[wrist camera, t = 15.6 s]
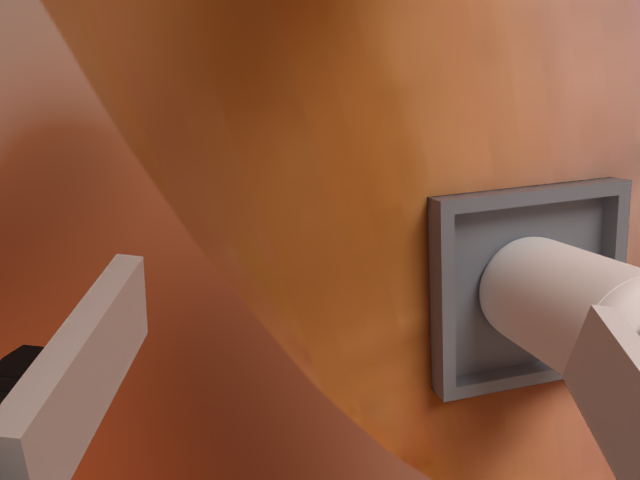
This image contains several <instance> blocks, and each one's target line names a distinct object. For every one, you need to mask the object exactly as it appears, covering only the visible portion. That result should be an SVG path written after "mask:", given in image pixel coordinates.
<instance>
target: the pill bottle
mask: <svg viewBox="0 0 640 480" xmlns="http://www.w3.org/2000/svg"><path fill="white" fill-rule="evenodd" d="M479 298H480V304H481V308H482V311H483V313H484V315H485V317H486V319H487V320H488V322H489V323H490V324H491V325H492V326H493V327H494V328H495V329H496V330H497V331H498V332H499V333H501V334H502V335H504V336H505V337H507V338H508V339H509V340H511V341H512V342H514V343H515V344H517V345H518V346H520V347H521V348H523V349H524V350H526V351H527V352H529V353H530V354H532V355H533V356H535V357H536V358H538V359H539V360H541V361H542V362H544V363H545V364H546V365H548V366H549V367H551V368H552V369H554V370H555V371H557V372H558V373H560V374H561V375H562V374H563V372H564V370H565V367H566V365H567V362H568V360H569V357H570V355H571V352H572V350H573V348H574V345H575V343H576V340H577V338H578V335H579V333H580V331H581V328H582V326H583V323H584V321H585V318H586V316H587V314H588V311H589V309H590V306H591V305H599V306H608V307H617V308H618V309H619V311H620V312H621V313H622V314H623V316H624V317H625V318H626V319H627V321H628V322H629V323H630V324H631V326H632V327H633V328H634V329H635V331H636V332H637V333H638V335H639V336H640V268H639V267H636V266H633V265H630V264H627V263H623V262H620V261H617V260H614V259H611V258H608V257H605V256H602V255H599V254H596V253H592V252H589V251H586V250H583V249H580V248H577V247H574V246H571V245H568V244H564V243H561V242H558V241H555V240H552V239H548V238H543V237H525V238H521V239H517V240H515V241H513V242H511V243H509V244H507V245H505V246H504V247H503V248H501V249H500V250H499V251H498V252H497V253H496V254H495V255H494V256H493V257H492V259H491V260H490V261H489V263H488V265H487V266H486V268H485V270H484V273H483V275H482V278H481V282H480V289H479Z"/></svg>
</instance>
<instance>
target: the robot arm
mask: <svg viewBox="0 0 640 480" xmlns="http://www.w3.org/2000/svg"><path fill="white" fill-rule="evenodd" d="M147 333H148V328H147V311H146V295H145V277H144V260H143V256H133V255H124V254H116V256H115V257H114V258H113V259H112V261H111V262H110V263H109V265H108V266H107V267H106V268H105V270H104V271H103V272H102V274H101V275H100V276H99V278H98V279H97V280H96V281H95V283H94V284H93V285H92V286H91V288H90V289H89V290H88V292H87V293H86V294H85V295H84V297H83V298H82V299H81V301H80V302H79V303H78V305H77V306H76V307H75V309H74V310H73V311H72V312H71V314H70V315H69V316H68V318H67V319H66V320H65V321H64V323H63V324H62V325H61V327H60V328H59V329H58V331H57V332H56V333H55V334H54V336H53V337H52V338H51V340H50V341H49V342H48V344H47V345H46V346H45V347H39V346H30V345H22V346H21V347H19V348H18V349H16V350H14V351H13V352H11V353H10V354H8V355H7V356H5V357H3V358H2V359H1V360H0V480H71V478H72V476H73V475H74V473H75V471H76V469H77V467H78V465H79V463H80V461H81V459H82V457H83V456H84V454H85V452H86V450H87V448H88V445H89V444H90V442H91V440H92V438H93V436H94V434H95V433H96V431H97V429H98V427H99V425H100V423H101V421H102V419H103V417H104V415H105V414H106V412H107V410H108V408H109V406H110V404H111V402H112V400H113V398H114V396H115V394H116V392H117V391H118V389H119V387H120V385H121V383H122V381H123V379H124V377H125V375H126V373H127V371H128V370H129V368H130V366H131V364H132V362H133V360H134V358H135V356H136V354H137V352H138V350H139V349H140V347H141V345H142V343H143V341H144V339H145V337H146V335H147ZM562 378H563V380H564V382H565V384H566V385H567V387H568V389H569V391H570V393H571V395H572V397H573V399H574V401H575V402H576V404H577V406H578V408H579V410H580V412H581V414H582V416H583V417H584V419H585V421H586V423H587V425H588V427H589V429H590V431H591V433H592V434H593V436H594V438H595V440H596V442H597V444H598V446H599V448H600V449H601V451H602V453H603V455H604V457H605V459H606V461H607V463H608V465H609V466H610V468H611V470H612V472H613V474H614V476H615V478H616V480H640V336H639V335H638V333H637V332H636V331H635V329H634V328H633V327H632V326H631V324H630V323H629V322H628V321H627V319H626V318H625V317H624V316H623V314H622V313H621V312H620V311H619V309H618V308H617V307H608V306H599V305H591V306H590V309H589V311H588V314H587V316H586V318H585V321H584V323H583V326H582V328H581V331H580V333H579V335H578V338H577V340H576V343H575V345H574V348H573V350H572V352H571V355H570V357H569V360H568V362H567V365H566V367H565V370H564V372H563V374H562Z"/></svg>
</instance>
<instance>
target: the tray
mask: <svg viewBox="0 0 640 480" xmlns="http://www.w3.org/2000/svg"><path fill="white" fill-rule="evenodd" d="M631 185H632V180H627V179H620V178H613V177H607V178H598V179H589V180H580V181H571V182H562V183H552V184H543V185H534V186H525V187H516V188H507V189H498V190H489V191H479V192H470V193H461V194H452V195H443V196H434V197H428V240H429V287H430V334H431V380H432V390H433V391H434V392H435V393H436V394H437V395H438V397H439V398H440V399H441V400H442V401H443V402H449V401H454V400H459V399H464V398H469V397H474V396H480V395H485V394H490V393H495V392H500V391H505V390H510V389H516V388H521V387H526V386H531V385H536V384H541V383H546V382H552V381H557V380H562V379H563V378H562V375H561V374H560V373H558V372H557V371H555V370H554V369H552V368H551V367H549V366H548V365H546V364H545V363H544V362H542V361H541V360H539V359H538V358H536V357H535V356H533V355H532V354H530V353H529V352H527V351H526V350H524V349H523V348H521V347H520V346H518V345H517V344H515V343H514V342H512V341H511V340H509V339H508V338H507V337H505V336H504V335H502V334H501V333H499V332H498V331H497V330H496V329H495V328H494V327H493V326H492V325H491V324H490V323H489V322H488V320H487V319H486V317H485V315H484V313H483V311H482V308H481V304H480V298H479V289H480V282H481V278H482V275H483V273H484V270H485V268H486V266H487V265H488V263H489V261H490V260H491V259H492V257H493V256H494V255H495V254H496V253H497V252H498V251H499V250H500V249H501V248H503V247H504V246H505V245H507V244H509V243H511V242H513V241H515V240H517V239H521V238H525V237H543V238H548V239H552V240H555V241H558V242H561V243H564V244H568V245H571V246H574V247H577V248H580V249H583V250H586V251H589V252H592V253H596V254H599V255H602V256H605V257H608V258H611V259H614V260H617V261H620V262H623V263H626V257H627V242H628V228H629V214H630V199H631Z"/></svg>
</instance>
